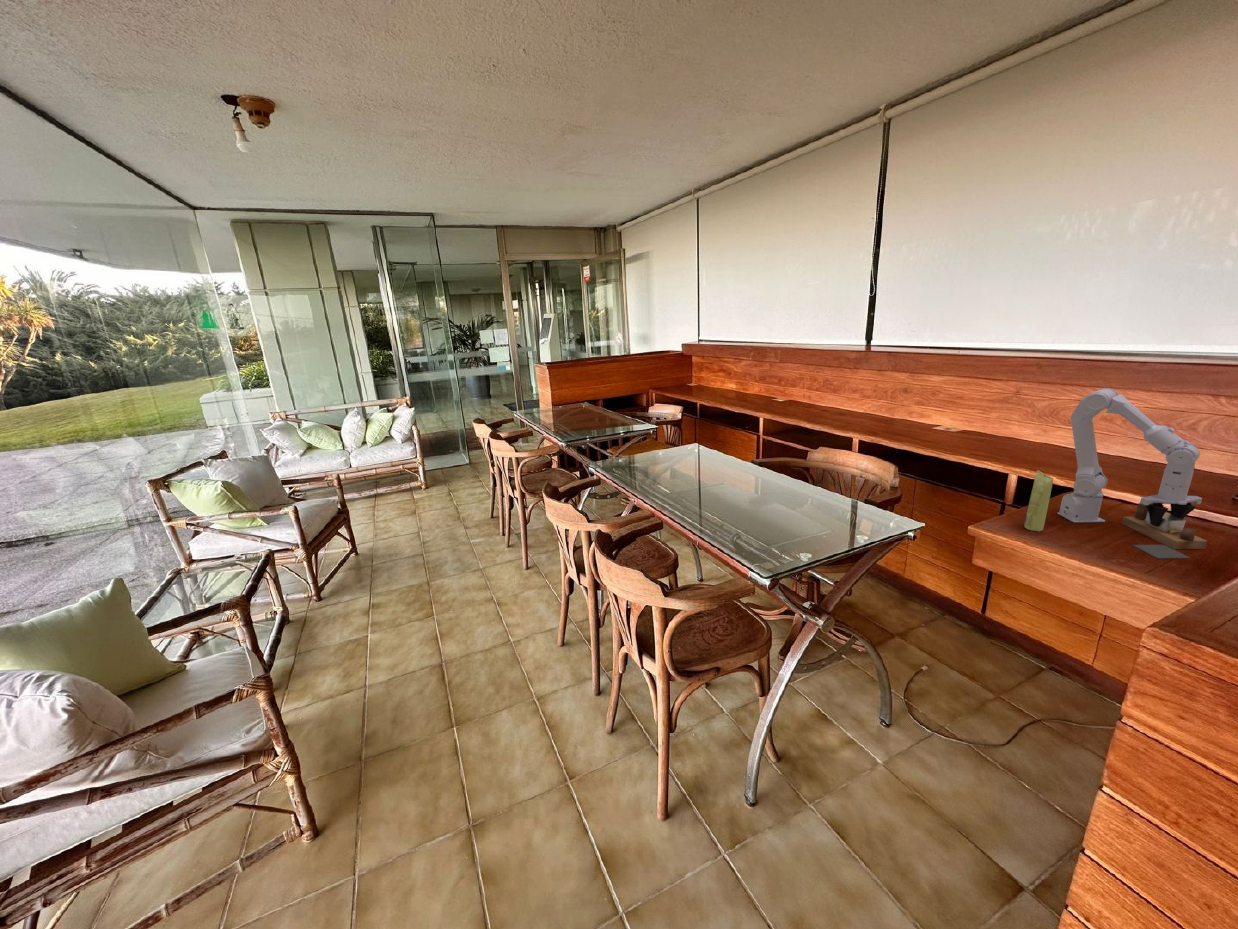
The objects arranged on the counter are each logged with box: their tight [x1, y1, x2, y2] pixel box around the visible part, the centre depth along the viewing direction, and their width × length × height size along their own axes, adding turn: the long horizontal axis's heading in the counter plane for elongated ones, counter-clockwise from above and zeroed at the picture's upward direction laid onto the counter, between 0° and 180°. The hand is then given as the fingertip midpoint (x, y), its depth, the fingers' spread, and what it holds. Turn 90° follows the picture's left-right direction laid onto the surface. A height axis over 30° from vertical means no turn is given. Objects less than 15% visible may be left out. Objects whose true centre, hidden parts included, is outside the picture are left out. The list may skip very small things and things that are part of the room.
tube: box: [1024, 470, 1054, 532], centre depth 158 cm, size 6×5×20 cm
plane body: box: [1121, 502, 1208, 550], centre depth 149 cm, size 8×18×8 cm, turn 172°
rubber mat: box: [1132, 544, 1191, 560], centre depth 141 cm, size 8×8×1 cm
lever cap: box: [1145, 511, 1187, 533], centre depth 149 cm, size 4×7×4 cm, turn 172°
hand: (1163, 525), depth 149 cm, fingers closed on lever cap, 4 cm apart
